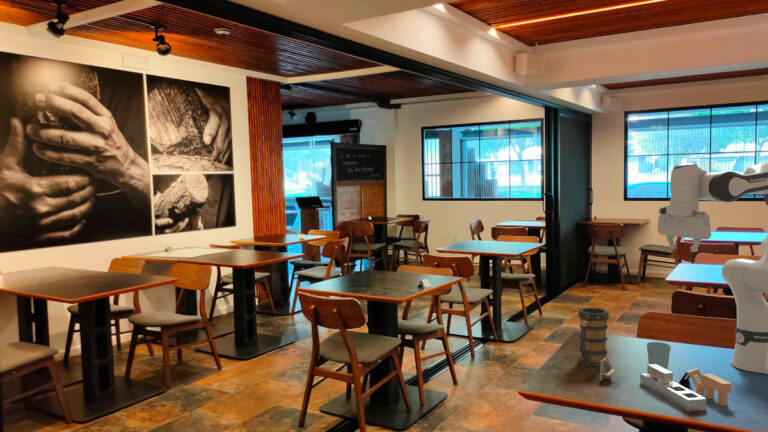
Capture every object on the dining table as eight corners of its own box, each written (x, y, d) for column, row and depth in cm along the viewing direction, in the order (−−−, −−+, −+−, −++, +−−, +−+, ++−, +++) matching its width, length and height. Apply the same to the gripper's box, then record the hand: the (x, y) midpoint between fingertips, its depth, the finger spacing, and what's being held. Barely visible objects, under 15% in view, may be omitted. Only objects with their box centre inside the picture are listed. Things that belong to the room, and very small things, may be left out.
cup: (675, 375, 203) (675, 346, 202) (659, 378, 200) (659, 349, 199) (657, 369, 210) (657, 340, 209) (641, 372, 207) (641, 343, 206)
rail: (656, 382, 196) (656, 362, 196) (706, 410, 172) (706, 387, 172) (640, 383, 195) (640, 363, 195) (688, 411, 172) (688, 388, 171)
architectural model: (615, 380, 200) (616, 359, 200) (609, 385, 195) (609, 364, 195) (605, 378, 203) (605, 357, 202) (599, 383, 197) (599, 362, 197)
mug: (616, 362, 218) (617, 310, 217) (598, 374, 205) (599, 318, 204) (583, 355, 227) (583, 305, 225) (564, 366, 214) (564, 313, 213)
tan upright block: (710, 395, 184) (710, 373, 184) (731, 405, 175) (731, 383, 175) (701, 395, 184) (701, 374, 183) (722, 406, 175) (722, 384, 174)
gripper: (716, 211, 190) (715, 253, 191) (669, 208, 210) (668, 246, 211) (701, 212, 188) (700, 254, 189) (654, 209, 208) (654, 247, 209)
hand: (683, 250), depth 200 cm, fingers open, 8 cm apart
